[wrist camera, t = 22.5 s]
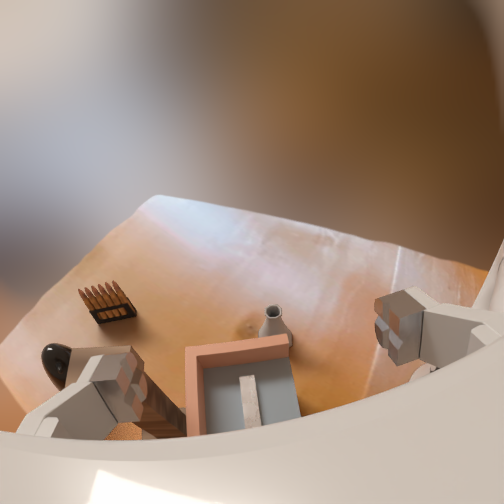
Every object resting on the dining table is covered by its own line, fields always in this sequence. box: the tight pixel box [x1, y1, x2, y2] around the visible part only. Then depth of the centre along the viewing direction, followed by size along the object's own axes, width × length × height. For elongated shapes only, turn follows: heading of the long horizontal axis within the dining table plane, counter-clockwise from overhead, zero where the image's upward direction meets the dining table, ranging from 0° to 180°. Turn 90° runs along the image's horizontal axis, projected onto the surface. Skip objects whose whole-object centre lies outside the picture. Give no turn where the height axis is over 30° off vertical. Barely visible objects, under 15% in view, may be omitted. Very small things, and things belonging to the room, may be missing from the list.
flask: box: [258, 304, 292, 347], centre depth 59 cm, size 7×7×10 cm
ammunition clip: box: [78, 281, 136, 324], centre depth 65 cm, size 11×2×12 cm, turn 104°
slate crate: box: [203, 357, 301, 435], centre depth 42 cm, size 18×14×16 cm
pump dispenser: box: [41, 343, 72, 391], centre depth 51 cm, size 10×10×15 cm
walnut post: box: [65, 345, 187, 440], centre depth 39 cm, size 8×12×29 cm, turn 97°
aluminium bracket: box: [239, 375, 262, 429], centre depth 33 cm, size 14×4×4 cm, turn 7°
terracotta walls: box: [185, 333, 289, 437], centre depth 35 cm, size 18×14×4 cm
